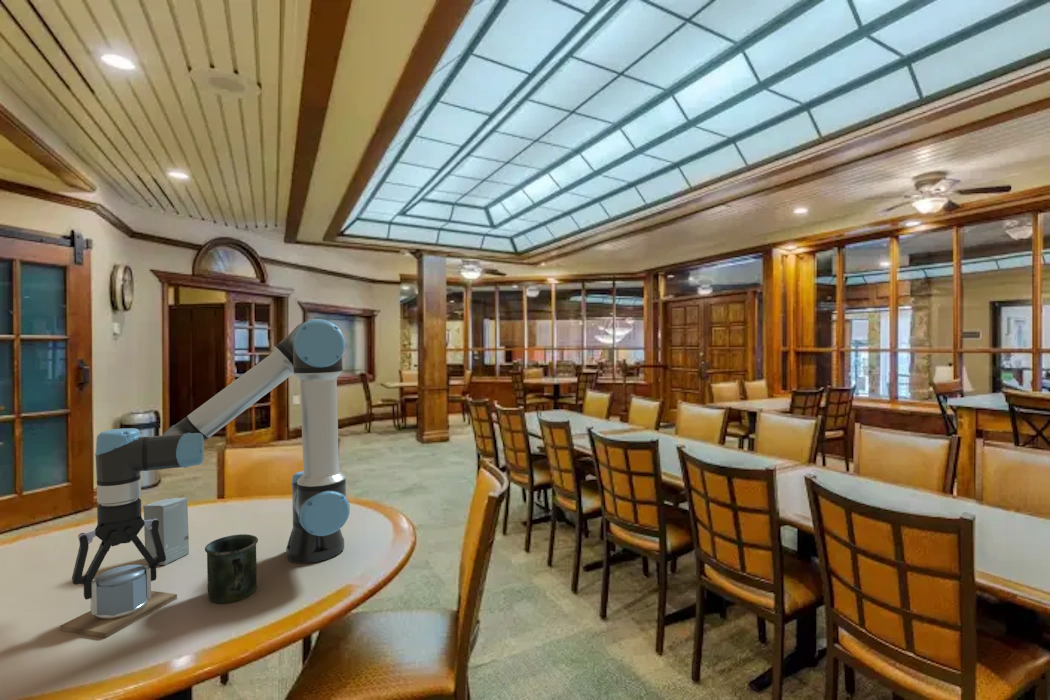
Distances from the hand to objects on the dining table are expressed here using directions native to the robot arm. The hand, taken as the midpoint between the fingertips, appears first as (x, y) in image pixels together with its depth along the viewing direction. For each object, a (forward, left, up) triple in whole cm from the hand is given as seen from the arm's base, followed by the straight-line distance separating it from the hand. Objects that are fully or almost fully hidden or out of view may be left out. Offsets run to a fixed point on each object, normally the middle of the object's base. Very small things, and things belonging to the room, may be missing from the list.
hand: (121, 603), depth 112 cm
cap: (0, 0, 0) cm, 0 cm away
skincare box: (+16, -25, -2) cm, 30 cm away
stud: (0, 0, -2) cm, 2 cm away
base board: (0, 0, -2) cm, 2 cm away
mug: (-18, -12, -2) cm, 22 cm away
